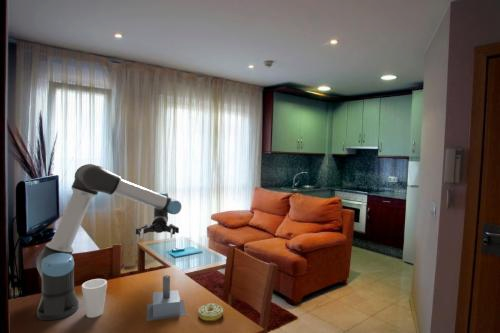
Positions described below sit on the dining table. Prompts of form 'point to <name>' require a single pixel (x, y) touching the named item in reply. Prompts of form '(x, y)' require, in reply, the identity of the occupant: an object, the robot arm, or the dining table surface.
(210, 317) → the decorated donut
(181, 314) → the mat
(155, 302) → the cover
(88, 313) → the foam cup
